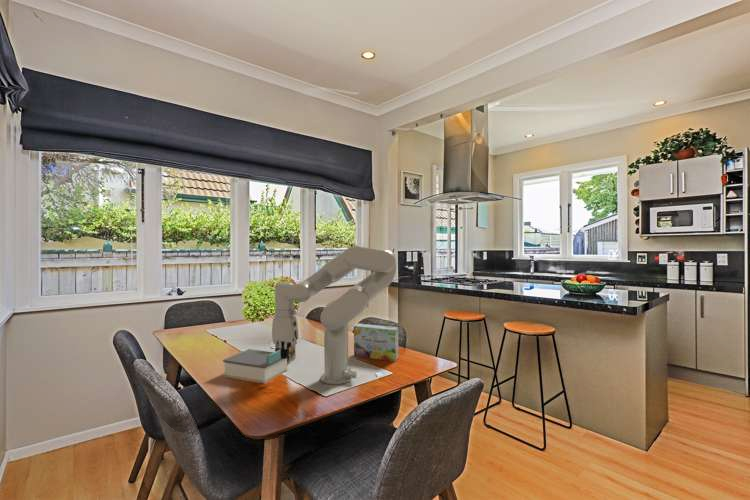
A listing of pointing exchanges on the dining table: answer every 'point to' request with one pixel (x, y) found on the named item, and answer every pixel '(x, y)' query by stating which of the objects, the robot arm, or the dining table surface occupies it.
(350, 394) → the dining table surface
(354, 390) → the dining table surface
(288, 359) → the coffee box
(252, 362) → the lid
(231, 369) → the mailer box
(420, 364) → the dining table surface
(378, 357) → the snack box
